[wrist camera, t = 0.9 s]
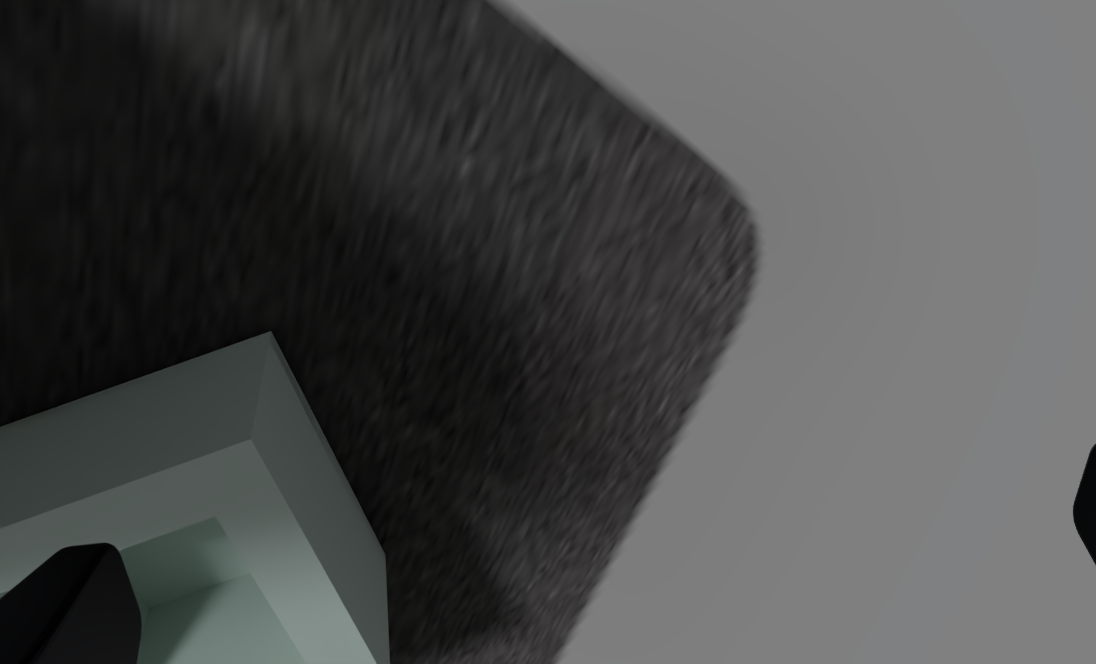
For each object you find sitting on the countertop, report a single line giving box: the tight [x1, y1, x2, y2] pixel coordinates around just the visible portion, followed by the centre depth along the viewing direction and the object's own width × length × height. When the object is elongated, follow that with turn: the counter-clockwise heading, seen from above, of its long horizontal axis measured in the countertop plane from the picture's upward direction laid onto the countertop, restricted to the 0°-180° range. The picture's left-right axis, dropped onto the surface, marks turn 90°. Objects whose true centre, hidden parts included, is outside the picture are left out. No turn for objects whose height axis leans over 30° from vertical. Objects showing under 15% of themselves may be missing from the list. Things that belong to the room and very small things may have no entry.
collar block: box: [0, 331, 390, 664], centre depth 20 cm, size 7×7×4 cm
